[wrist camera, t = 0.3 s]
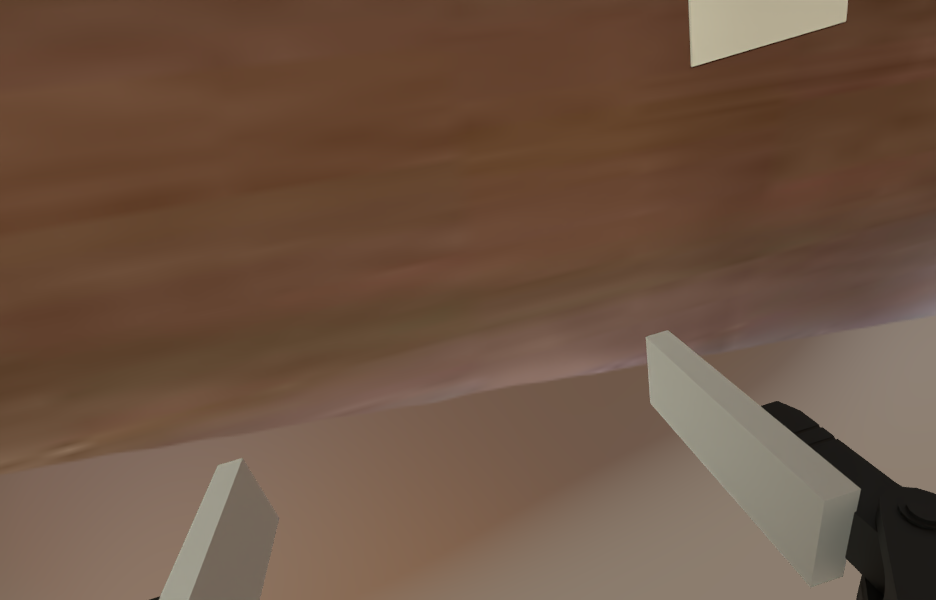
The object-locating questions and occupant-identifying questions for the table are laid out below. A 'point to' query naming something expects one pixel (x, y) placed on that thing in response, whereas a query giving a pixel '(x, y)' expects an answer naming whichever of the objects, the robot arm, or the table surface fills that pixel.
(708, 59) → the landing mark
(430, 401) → the table surface
